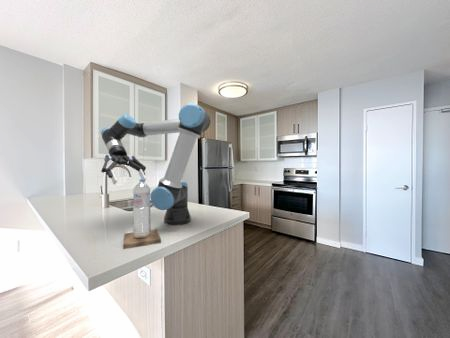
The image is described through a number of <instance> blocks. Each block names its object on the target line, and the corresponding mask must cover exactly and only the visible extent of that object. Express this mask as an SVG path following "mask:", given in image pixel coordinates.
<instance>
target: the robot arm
mask: <svg viewBox="0 0 450 338" xmlns="http://www.w3.org/2000/svg"><path fill="white" fill-rule="evenodd" d="M210 126H211V117H210V115H209V114H208V113H207V112H206V111H205V110H204V108H203V107H201V105H199V104H196V103H193V102H190V103H187V104H184V105H183V106H182V107H181V108H180V110H179V112H178V118H177V119H165V120H157V121H149V122H142V123H141V122H139V123H138V122H137V121H136V120H135V119H134V117H132V115H130V114H127V113H125V114H123V115H121V116H120V117H119V118H118V119H117V121H115V123H114V124H113V125H112V126H106V127H103V128H102V129H101V132H100V135H101V138H102V141H103V143H104V145H105V146H106V150H107V152H108V154H109V155H108V154H105V157H104V163H103V166H102V168H101V170H100V172H101V173H105V175H107V176H108V178H109V179H111V182H112V184H113V185H116V184H117V182H118V179H117V177H116V175H115V172H114V170H113V169H114V168H115V167H116V166H117V165H119V166H121V165H123V166H127V167H131V168H132V169H134V170H135V171H136V172H138V175H139V178H140V179H144V183H145V182H146V180H147V177H146V172H145V171H146V170H147V169H146V168H147V167H146V166H145V165H144V164H142V163H141V162H140V161H139V160H138V159H136V157H135V156H134V155H131V156H128V154H127V153H128V152H127V151H126V148H125V146H124V144H123V142H122V139H123V138H125V137H126V136H127V135H131V136H135V137H138V138H146V137H148V136H157V135H165V134H167V135H168V134H176V133H178V136H177V139H176V143H175V145H174V148H173V152H172V154H171V157H170V160H169V163H168V165H167V168H166V169H165V170H166V171H165V174H164V177H162V178H160V179H159V181H158V185H157V187H155V188H154V189H152V191H150V203H151V204H152V206H153V207H154V208H155V209H157V210H160V211H165V214H164V217H163V223H164V224H165V225H168V226H170V225H171V226H177V225H179V226H180V225H185V224H188V223H190V222H191V220H192V219H191V214H190V210H189V208H188V201H189V200H188V199H189V198H188V196H189V194H188V192H189V191H188V190H189V187H188V183H187V182H186V181H182V179H183V177H184V174H185V171H186V168H187V166H188V163H189V161H190V157H191V155H192V152H193V149H194V146H195V143H196V141H197V139H199V138H200V137H201V135H202V133H204V132H206V131H207V130H208V129H209V128H210ZM109 161H111V163H110V165H109V166H108V163H109ZM107 166H108V167H107Z"/></svg>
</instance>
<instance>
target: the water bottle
mask: <svg viewBox="0 0 450 338" xmlns="http://www.w3.org/2000/svg"><path fill="white" fill-rule="evenodd" d="M132 191H133V211H132V212H133V216H132V217H133V232H134V237H135V238H138V239H140V238H146V237H148V236H150V232H151V231H150V230H152V229H151V198H150V196H151V187H150V186H149V185H148V184H147V183H145V182H144V179H141V178H140V179H139V182H138V183H137V184H136V185H135V186H134V187H133V189H132Z"/></svg>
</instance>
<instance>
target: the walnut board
mask: <svg viewBox="0 0 450 338" xmlns="http://www.w3.org/2000/svg"><path fill="white" fill-rule="evenodd" d="M150 231H151V232H150V236H148V237H146V238H140V239H138V238H135V237H134V231H133V232H125V233H124V235H123V242H122V243H123V244H122V245H123V247H122V249H123V250H125V249H130V248H138V247H143V246H148V245H155V244H161V243H162V239H161V237H160V234H159V231H158V229H157V228H155V229H151V230H150Z"/></svg>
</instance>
